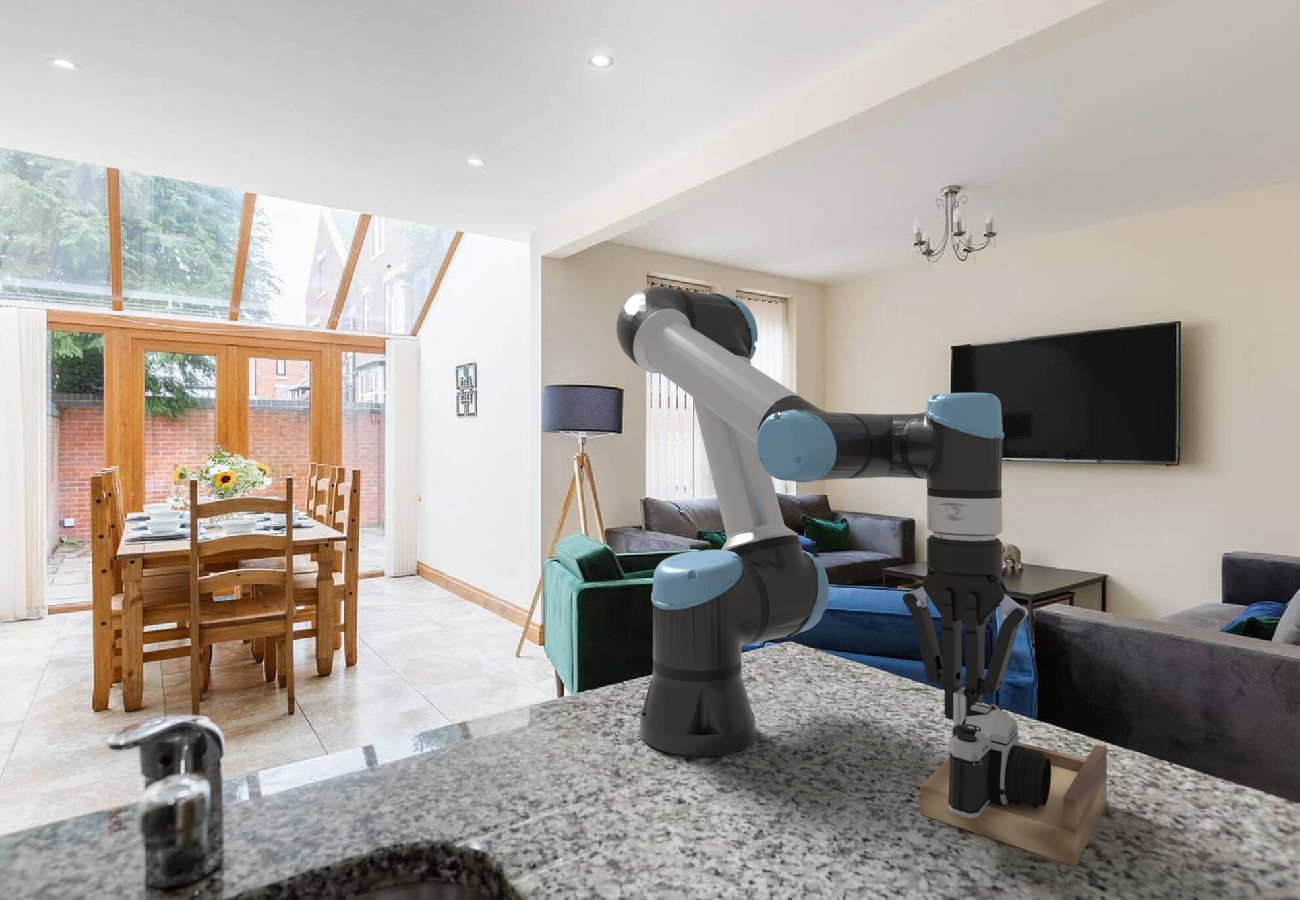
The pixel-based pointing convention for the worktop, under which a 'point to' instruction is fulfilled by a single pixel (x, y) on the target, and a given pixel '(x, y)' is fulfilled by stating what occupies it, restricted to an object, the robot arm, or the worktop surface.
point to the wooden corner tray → (1038, 829)
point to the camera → (993, 764)
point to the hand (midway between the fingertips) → (963, 750)
